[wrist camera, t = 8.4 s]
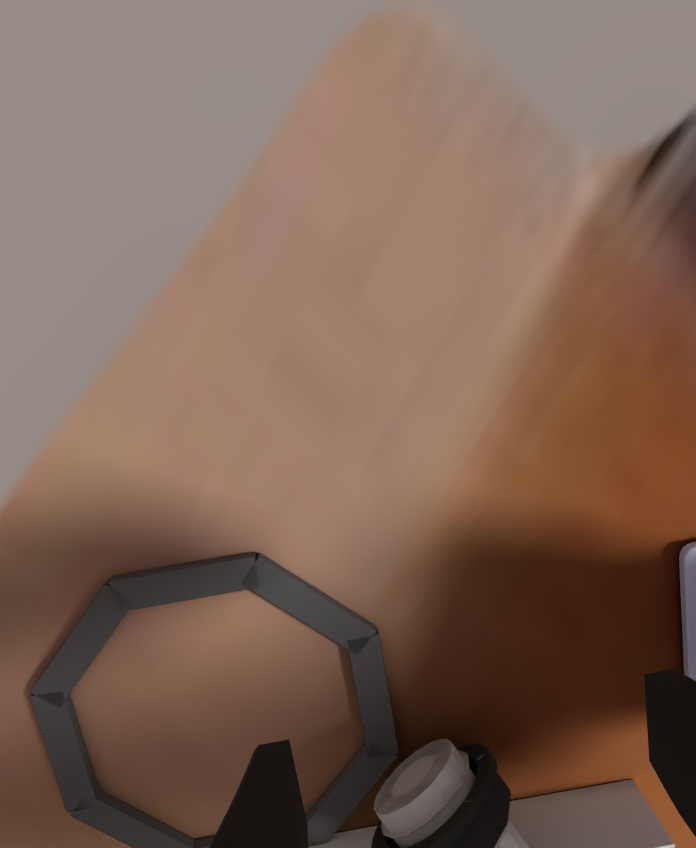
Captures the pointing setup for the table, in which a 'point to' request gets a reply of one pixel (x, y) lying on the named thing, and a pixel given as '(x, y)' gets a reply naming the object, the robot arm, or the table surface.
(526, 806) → the tray
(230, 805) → the robot arm
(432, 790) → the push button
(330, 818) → the seat ring
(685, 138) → the table surface
